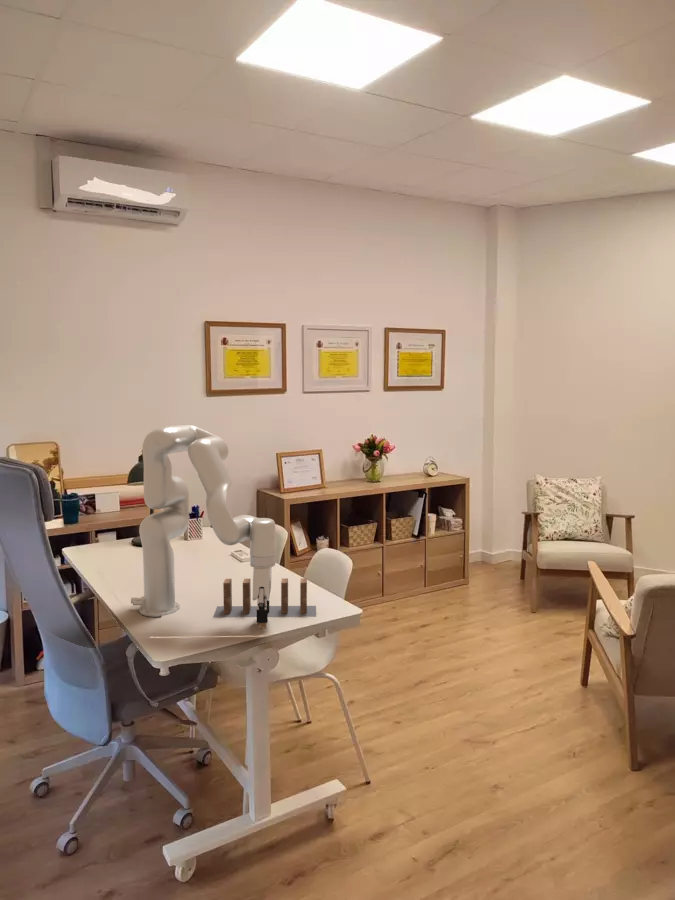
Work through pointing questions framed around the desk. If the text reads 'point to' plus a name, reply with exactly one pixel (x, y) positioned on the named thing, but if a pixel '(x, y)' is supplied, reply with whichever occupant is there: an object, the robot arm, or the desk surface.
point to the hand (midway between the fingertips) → (263, 617)
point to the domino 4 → (284, 596)
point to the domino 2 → (246, 596)
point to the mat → (273, 612)
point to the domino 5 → (303, 596)
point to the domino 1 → (227, 595)
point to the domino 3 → (263, 625)
